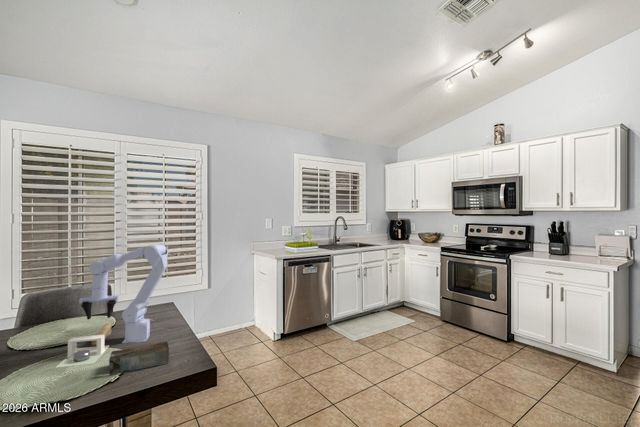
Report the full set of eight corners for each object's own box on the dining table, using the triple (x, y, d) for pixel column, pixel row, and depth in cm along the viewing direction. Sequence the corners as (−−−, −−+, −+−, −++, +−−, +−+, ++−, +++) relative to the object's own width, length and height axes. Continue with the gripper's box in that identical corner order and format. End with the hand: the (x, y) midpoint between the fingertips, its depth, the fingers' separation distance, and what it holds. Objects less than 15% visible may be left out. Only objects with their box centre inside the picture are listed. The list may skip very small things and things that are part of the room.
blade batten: (111, 333, 147) (111, 323, 148) (97, 347, 132) (97, 336, 132) (105, 333, 147) (106, 324, 147) (91, 347, 132) (91, 336, 132)
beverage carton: (110, 366, 115) (111, 348, 115) (168, 356, 124) (168, 339, 124) (108, 376, 108) (108, 357, 108) (169, 364, 117) (169, 346, 117)
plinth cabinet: (104, 351, 127) (104, 334, 127) (100, 355, 123) (101, 338, 123) (72, 354, 124) (72, 337, 124) (67, 359, 120) (67, 341, 120)
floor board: (109, 346, 132) (110, 345, 132) (94, 364, 116) (94, 363, 116) (76, 349, 128) (76, 348, 129) (55, 369, 112) (55, 367, 112)
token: (91, 355, 122) (92, 349, 122) (86, 361, 117) (86, 354, 117) (76, 357, 121) (77, 350, 121) (70, 362, 116) (71, 356, 116)
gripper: (121, 284, 145) (120, 313, 145) (84, 286, 141) (83, 316, 140) (116, 288, 138) (115, 318, 138) (77, 290, 134) (76, 321, 134)
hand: (99, 318), depth 139 cm, fingers open, 7 cm apart
